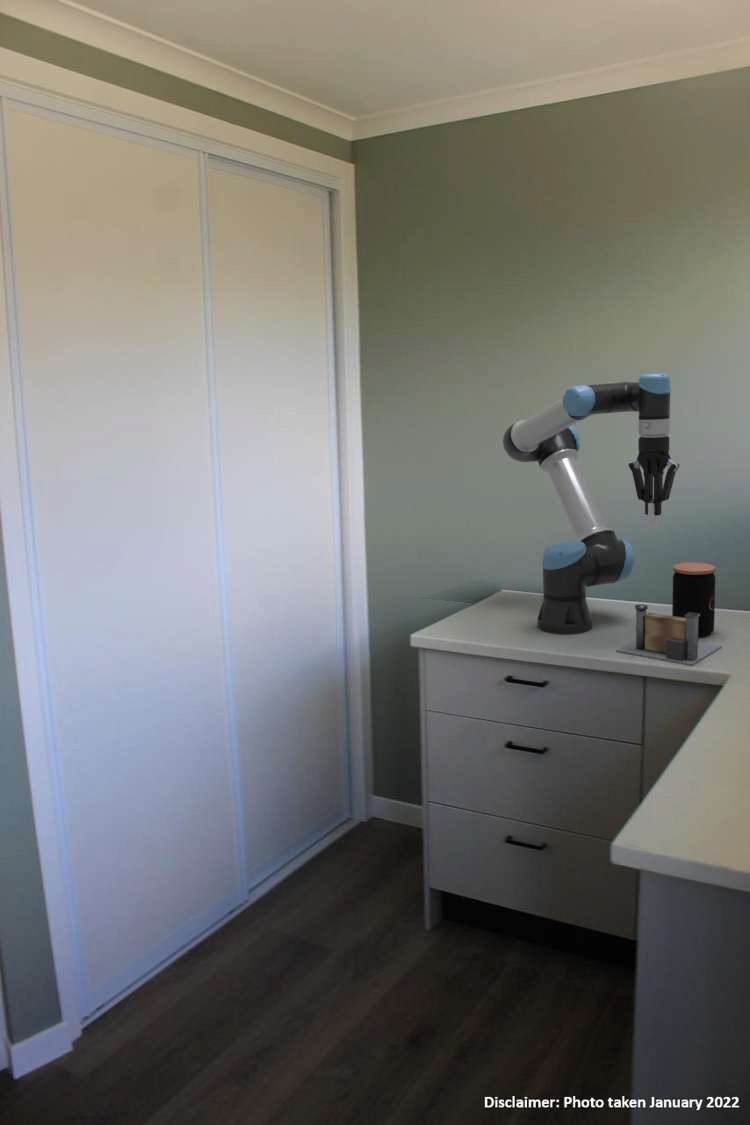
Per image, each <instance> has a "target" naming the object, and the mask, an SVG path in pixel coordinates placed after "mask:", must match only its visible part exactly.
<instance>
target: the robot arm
mask: <svg viewBox="0 0 750 1125" xmlns="http://www.w3.org/2000/svg"><path fill="white" fill-rule="evenodd" d="M671 391H672V389H671V378H670V375H668V373H646V374H641V375H640V376H638V382H637V381H635V382H634V381H633V382H632V381H631V382H630V381H619V382H614V383H601V384H600V383H599V384H598V383H596V384H578V385H574V386H570V387H568V388H567V389H565V393H564V394H563V397H562V398H561V399H559V400H558V401H556V402H554V403H553V404H551V405H549V406H548V407H546V408H545V409H543V410H541V411H539V412H537V413H536V414H535V415H533V416H531V417H529V418H528V419H521V420H518V421H516V422H515V423H513V424H512V425H510V426H509V427H508V428H507V429H506V430H505V432H504V434H503V438H502V446H503V449H504V452H505V453H506V454H507V455H508V456H509V457H510V458H511V459H513V460H514V461H516V462H517V461H518V462H521V463H530V462H531V463H533V462H537V463H538V466H539V467H540V470H541V471H542V472H544V473H546V474H547V473H548V475H549V477H550V480H551V482H552V484H553V487H554V488H555V489H554V490H555V491H556V493H557V496H558V498H559V500H560V503H561V504H562V507H563V509H564V512H565V513H566V516H567V517H568V520H569V522H570V526H571V527H572V529H573V532H574V533H575V536H576V539H577V540H569V541H560V542H555V543H553V544H550V545H548V546H547V547H546V548H545V549H544V551H543V552H542V553H543V554H542V563H541V566H542V577H543V578H542V592H543V594H542V595H543V598H542V599H543V600H542V603H541V605H540V609H539V612H538V616H537V629H539V630H541V631H543V632H546V633H552V634H562V635H564V634H567V635H568V634H571V635H572V634H579V633H584V632H588V631H590V630H592V629H593V622H594V621H593V620H594V619H593V617H592V614H591V611H590V608H589V604H588V602H587V588H588V587H595V586H602V585H609V584H616V583H618V582H622V581H625V580H626V579H627V578H629V576H630V575H631V573H632V571H633V567H634V563H635V562H634V561H635V554H634V552H633V548H632V546H631V544H630V543H629V542H628V541H626V540H625V539H618V537H617V535H616V533H615V530H613V529H611V528H608V527H607V525H606V524H605V521H604V519H603V518H602V515H601V513H600V512H599V511H600V510H599V509H598V506H597V504H596V503H595V501H594V498H593V495H592V493H591V492H590V490H589V487H588V485H587V483H586V480H585V479H584V476H583V474H582V472H581V469H580V468H579V466H578V464H577V461H576V460H577V459H578V456H579V454H578V452H579V450H580V445H581V443H580V442H579V441H580V436H579V433H578V430H577V429H576V427H575V425H576V424H577V423H580V422H581V421H583V420H584V419H587V418H589V417H591V416H592V415H601V414H614V413H615V414H616V413H631V412H634V413H635V412H638V435H639V437H638V448H637V449H638V455H637V458H636V460H635V461H633V462H630V463H628V467H629V470H630V471H631V473H632V478H633V481H634V487H635V493H636V496H637V499H638V500H639V501H643V503H644V514H645V515H646V516H647V529H650V530H651V529H653V530H654V529H657V528H659V516H660V515H661V514H662V505H663V504H662V503H663V502H664V501H668V500H670V496H671V492H672V488H673V484H674V479H675V475H676V472H678V469H679V468H680V464H679V463H676V462H674V461H673V460H672V459H671V456H670V437H669V434H670V429H671V428H670V426H671V425H670V424H671V423H670V422H671V421H670V414H671V407H670V406H671ZM666 467H667V468H666ZM641 468H642V470H643V475H642V470H641ZM665 469H666V470H667V471H666V475H665V479H663V477H664V470H665ZM643 476H644V479H643ZM663 480H664V483H663Z"/></svg>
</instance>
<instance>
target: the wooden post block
mask: <svg viewBox="0 0 750 1125" xmlns="http://www.w3.org/2000/svg"><path fill="white" fill-rule="evenodd" d="M670 638H676V639H682V640H686V618H682V617H676V616H672V615H668V614H661V613H656V612H648V613H646V615H645V649H647V650H652V651H658V652H663V653H666V648H667V640H668V639H670Z"/></svg>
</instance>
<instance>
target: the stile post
mask: <svg viewBox="0 0 750 1125" xmlns="http://www.w3.org/2000/svg"><path fill="white" fill-rule="evenodd" d="M699 616H700V614H699V613H692V612H689V613H687V614H685V615H684V617H685V618H686V652H685V659H686V660H692V661H694V660H695V659H697V658H698V642H699V637H698V617H699Z"/></svg>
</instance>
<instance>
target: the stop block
mask: <svg viewBox="0 0 750 1125" xmlns="http://www.w3.org/2000/svg"><path fill="white" fill-rule="evenodd" d="M685 652H686V640H682V639H676V638H670V639H668V640H667V648H666V658H668V659H674V660H679V661H683V660H685Z"/></svg>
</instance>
